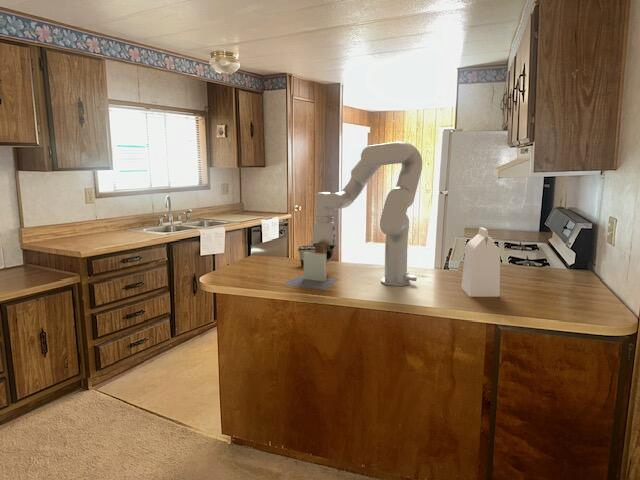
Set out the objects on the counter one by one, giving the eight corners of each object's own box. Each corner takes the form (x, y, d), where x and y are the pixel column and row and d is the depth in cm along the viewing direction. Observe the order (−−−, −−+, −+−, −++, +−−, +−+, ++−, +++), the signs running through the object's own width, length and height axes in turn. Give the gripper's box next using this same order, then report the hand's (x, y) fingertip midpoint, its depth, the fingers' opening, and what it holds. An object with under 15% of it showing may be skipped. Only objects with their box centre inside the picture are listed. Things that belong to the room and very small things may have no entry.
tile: (326, 279, 201) (326, 253, 198) (324, 281, 198) (324, 254, 196) (306, 277, 205) (305, 251, 202) (303, 279, 202) (303, 252, 200)
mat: (339, 280, 201) (339, 279, 201) (324, 291, 186) (324, 289, 186) (299, 276, 209) (299, 275, 209) (281, 286, 194) (281, 284, 194)
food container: (323, 264, 233) (323, 245, 231) (322, 266, 227) (322, 247, 225) (299, 263, 234) (299, 244, 232) (298, 266, 228) (297, 247, 226)
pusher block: (333, 258, 214) (333, 240, 213) (323, 264, 204) (323, 244, 202) (325, 258, 216) (325, 239, 214) (315, 263, 205) (314, 244, 204)
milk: (461, 287, 189) (464, 226, 184) (489, 287, 188) (492, 226, 184) (469, 296, 177) (473, 231, 172) (499, 296, 177) (503, 231, 172)
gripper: (343, 219, 206) (344, 258, 210) (310, 217, 213) (311, 255, 216) (337, 221, 200) (338, 261, 203) (303, 219, 206) (304, 258, 210)
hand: (324, 258), depth 210 cm, fingers closed on pusher block, 4 cm apart
